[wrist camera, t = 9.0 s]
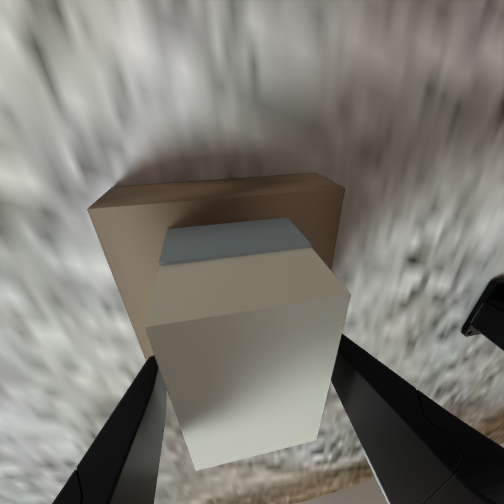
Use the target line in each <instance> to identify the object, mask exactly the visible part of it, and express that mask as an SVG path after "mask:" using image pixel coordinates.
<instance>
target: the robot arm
mask: <svg viewBox="0 0 504 504" xmlns="http://www.w3.org/2000/svg"><path fill="white" fill-rule="evenodd" d="M461 333H462V334H463V335H464V336H466V337H468V336H473V335H478V334H483V335H484V336H485V337H486V338H488V339H489V340H490V341H492V342H493V343H494V344H495V345H497V346H498V347H499V348H501V349H502V350H503V351H504V279H498V280H495V281H493V282H492V283H490V285H489V286H488V288H487V289H486V291H485V293H484V294H483V296H482V298H481V299H480V301H479V303H478V304H477V306H476V308H475V309H474V311H473V312H472V314H471V316H470V317H469V319H468V321H467V322H466V324H465V326H464V327H463V329H462V331H461ZM331 381H332V384H333V386H334V388H335V390H336V392H337V394H338V396H339V398H340V400H341V403H342V405H343V407H344V409H345V411H346V413H347V415H348V417H349V419H350V421H351V423H352V425H353V428H354V430H355V432H356V434H357V436H358V438H359V440H360V442H361V444H362V446H363V448H364V450H365V453H366V455H367V457H368V459H369V461H370V463H371V465H372V467H373V469H374V471H375V473H376V475H377V478H378V480H379V482H380V484H381V486H382V488H383V490H384V492H385V494H386V496H387V498H388V500H389V502H390V504H504V448H503V447H501V446H500V445H499V444H497V443H495V442H494V441H492V440H491V439H489V438H488V437H486V436H485V435H483V434H482V433H480V432H478V431H477V430H475V429H474V428H472V427H471V426H469V425H468V424H466V423H465V422H463V421H462V420H460V419H459V418H457V417H456V416H454V415H453V414H451V413H450V412H448V411H447V410H445V409H444V408H442V407H441V406H440V405H438V404H437V403H435V402H434V401H433V400H431V399H430V398H428V397H427V396H426V395H424V394H423V393H422V392H420V391H419V390H416V388H415V387H414V386H412V385H411V384H409V383H408V382H407V381H405V380H404V379H403V378H401V377H400V376H399V375H397V374H396V373H395V372H393V371H392V370H391V369H389V368H388V367H387V366H385V365H384V364H383V363H381V362H380V361H379V360H377V359H376V358H374V357H373V356H372V355H370V354H369V353H368V352H366V351H365V350H364V349H362V348H361V347H360V346H358V345H357V344H356V343H354V342H353V341H352V340H350V339H349V338H348V337H346V336H345V335H343V334H342V335H341V339H340V343H339V347H338V351H337V355H336V360H335V364H334V368H333V372H332V376H331ZM166 391H167V389H166V386H165V383H164V380H163V377H162V375H161V372H160V369H159V366H158V364H157V361H156V358H155V355H152V356H150V357H149V358H148V360H147V361H146V363H145V364H144V366H143V367H142V369H141V370H140V372H139V373H138V375H137V376H136V378H135V379H134V381H133V382H132V384H131V385H130V387H129V388H128V390H127V391H126V393H125V395H124V396H123V398H122V399H121V401H120V402H119V404H118V405H117V407H116V408H115V410H114V411H113V413H112V414H111V416H110V417H109V419H108V420H107V422H106V423H105V425H104V426H103V428H102V429H101V431H100V432H99V434H98V436H97V437H96V439H95V440H94V442H93V443H92V445H91V446H90V448H89V449H88V451H87V452H86V454H85V455H84V457H83V458H82V460H81V461H80V463H79V464H78V466H77V470H74V472H73V473H72V475H71V476H70V478H69V479H68V481H67V482H66V484H65V485H64V487H63V488H62V490H61V491H60V493H59V494H58V496H57V497H56V499H55V500H54V502H53V503H52V504H154V497H155V490H156V483H157V476H158V469H159V462H160V455H161V448H162V440H163V433H164V426H165V417H166Z"/></svg>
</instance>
